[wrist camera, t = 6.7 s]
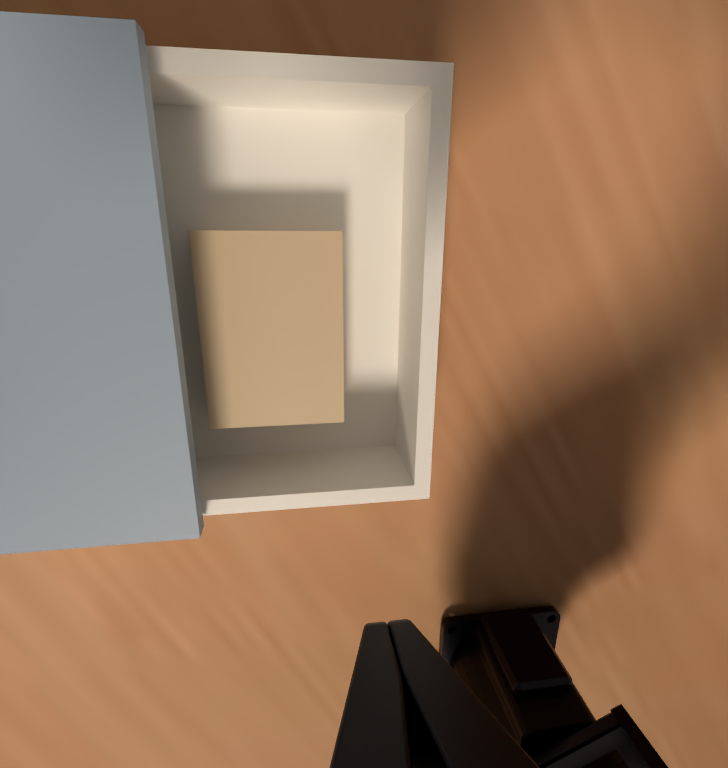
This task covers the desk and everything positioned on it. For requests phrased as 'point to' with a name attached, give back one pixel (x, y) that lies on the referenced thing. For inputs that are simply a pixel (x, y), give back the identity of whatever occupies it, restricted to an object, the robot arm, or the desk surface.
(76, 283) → the lid
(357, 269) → the box
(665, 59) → the desk surface
